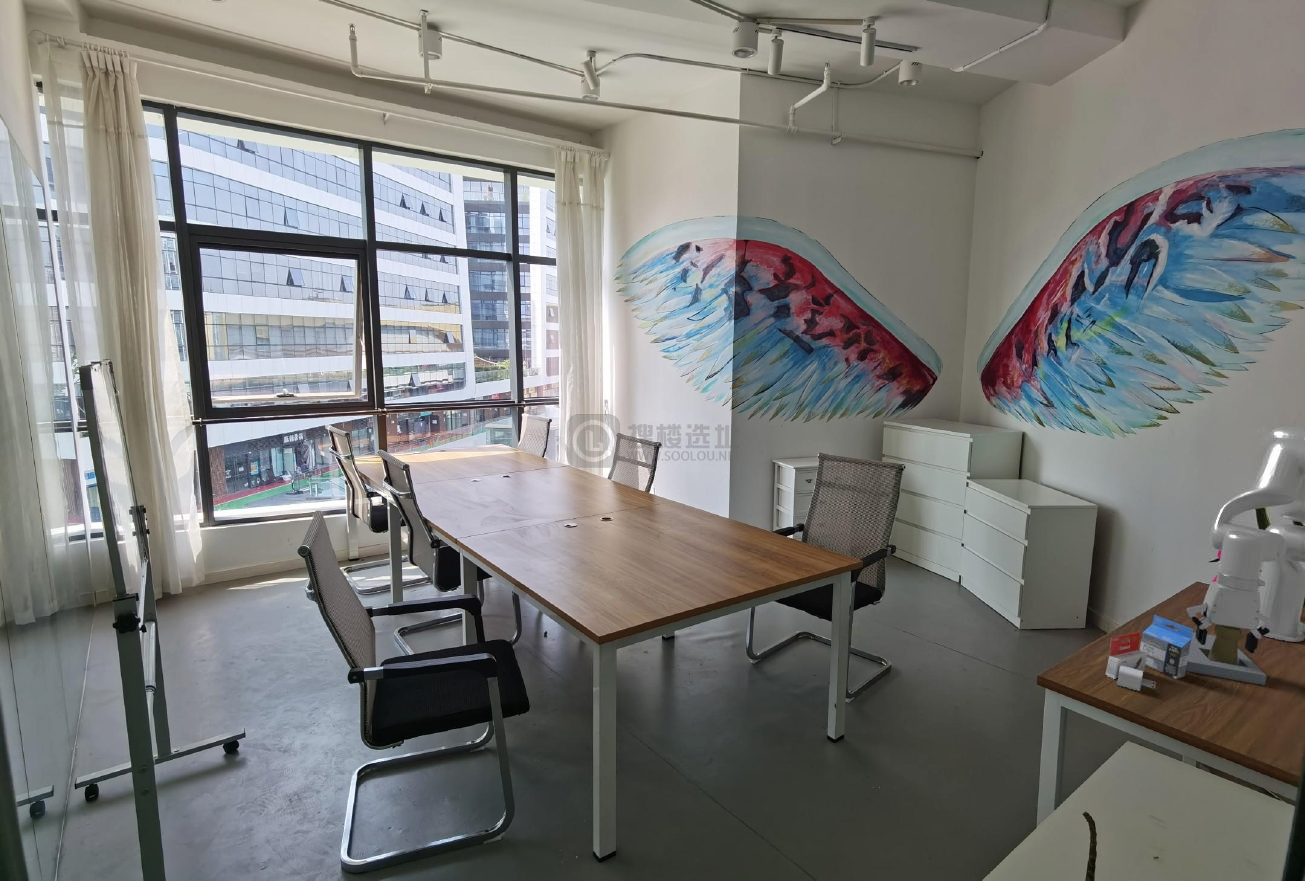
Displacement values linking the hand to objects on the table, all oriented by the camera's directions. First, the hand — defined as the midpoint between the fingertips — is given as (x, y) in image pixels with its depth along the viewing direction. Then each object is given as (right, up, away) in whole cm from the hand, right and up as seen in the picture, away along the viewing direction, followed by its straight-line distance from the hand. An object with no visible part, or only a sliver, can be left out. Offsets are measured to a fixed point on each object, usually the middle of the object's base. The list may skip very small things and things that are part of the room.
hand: (1224, 646), depth 162 cm
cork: (0, -5, +1) cm, 6 cm away
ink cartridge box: (-28, -5, -5) cm, 29 cm away
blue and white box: (-18, -5, -2) cm, 18 cm away
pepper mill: (+37, 0, +43) cm, 56 cm away
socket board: (-1, -5, +5) cm, 7 cm away
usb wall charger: (-31, -6, -11) cm, 33 cm away
